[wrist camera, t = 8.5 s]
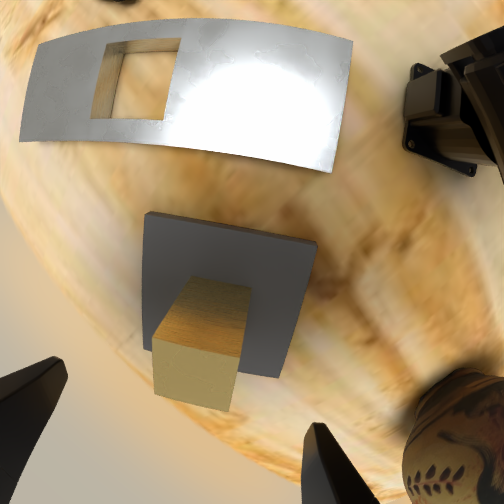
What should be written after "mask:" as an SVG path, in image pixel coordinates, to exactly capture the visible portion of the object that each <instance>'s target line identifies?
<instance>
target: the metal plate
mask: <svg viewBox="0 0 504 504" xmlns="http://www.w3.org/2000/svg"><path fill="white" fill-rule="evenodd" d="M352 47H353V41H351V40H347V39H344V38H340V37H336V36H333V35H329V34H325V33H320V32H316V31H311V30H307V29H302V28H297V27H291V26H285V25H279V24H272V23H264V22H256V21H246V20H233V19H210V18H187V19H164V20H151V21H142V22H133V23H126V24H119V25H113V26H107V27H102V28H97V29H92V30H88V31H83V32H79V33H75V34H71V35H68V36H64V37H61V38H57V39H54V40H51V41H48V42H44V43H41V44H39V45H38V49H37V52H36V55H35V59H34V62H33V66H32V70H31V74H30V78H29V82H28V87H27V92H26V97H25V102H24V108H23V114H22V121H21V128H20V137H19V142H32V141H108V142H128V143H143V144H155V145H166V146H176V147H185V148H194V149H202V150H210V151H217V152H224V153H231V154H237V155H243V156H249V157H255V158H261V159H266V160H272V161H277V162H282V163H287V164H292V165H297V166H301V167H306V168H311V169H315V170H319V171H324V172H328V173H332V168H333V163H334V158H335V153H336V148H337V143H338V137H339V132H340V126H341V121H342V115H343V109H344V103H345V97H346V90H347V84H348V77H349V70H350V62H351V55H352ZM153 51H178V53H177V57H176V62H175V66H174V70H173V74H172V79H171V84H170V88H169V93H168V98H167V103H166V109H165V114H164V120H145V119H110V117H111V112H112V106H113V101H114V95H115V91H116V86H117V81H118V77H119V73H120V68H121V64H122V60H123V57H124V54H125V53H136V52H153Z"/></svg>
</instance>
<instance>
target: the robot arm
mask: <svg viewBox="0 0 504 504" xmlns="http://www.w3.org/2000/svg"><path fill="white" fill-rule="evenodd" d="M440 57H441V58H442V60H443V61H444V63H445V64H447V65H448V66H449V68H448V69H446V70H442V69H437V70H433V69H431V68H429V67H427V66H425V65H423V64H420V63H416V64H414V65H413V66H412V69H411V81H410V82H409V83H408V84H407V94H406V102H405V110H404V117H405V119H406V123H405V130H404V136H403V148H404V149H405V150H406V151H408V152H411V153H413V154H416V155H419V156H421V157H424V158H426V159H429V160H431V161H434V162H436V163H439V164H441V165H443V166H446V167H448V168H450V169H452V170H455V171H457V172H459V173H461V174H463V175H466V176H468V177H474V176H475V174H476V169H477V164H481V165H488V166H495V167H498V169H499V172H500V175H501V178H502V181H503V184H504V26H502V27H500V28H497V29H495V30H493V31H490V32H488V33H486V34H483V35H481V36H479V37H477V38H475V39H472V40H470V41H468V42H466V43H464V44H462V45H460V46H458V47H456V48H453V49H451V50H449V51H447V52H445V53H443V54H441V55H440ZM417 68H419V69H420V70H421V73H420V72H418V70H417ZM409 141H411V142H412V147H411V148H410V147H409V145H408V142H409ZM469 168H470V169H471V171H470V172H469ZM67 379H68V374H67V371H66V367H65V364H64V361H63V360H62V359H60V358H58V357H56V356H52V357H49V358H47V359H45V360H42V361H40V362H38V363H35V364H33V365H31V366H28V367H26V368H23V369H21V370H18V371H16V372H14V373H11V374H9V375H6V376H4V377H1V378H0V504H9V502H10V500H11V497H12V495H13V493H14V490H15V488H16V486H17V482H18V481H19V478H20V476H21V474H22V472H23V470H24V468H25V465H26V463H27V461H28V459H29V457H30V455H31V453H32V451H33V449H34V447H35V445H36V443H37V441H38V439H39V437H40V435H41V433H42V431H43V429H44V427H45V426H46V424H47V422H48V420H49V419H50V417H51V415H52V413H53V411H54V409H55V407H56V405H57V402H58V400H59V398H60V395H61V393H62V391H63V389H64V386H65V384H66V382H67ZM301 491H302V504H380V503H379V501H378V500H377V498H376V497H374V494H373V493H372V491H371V490H370V489H369V487H368V486H367V484H366V483H365V482H364V480H363V479H362V477H361V476H360V474H359V473H358V471H357V470H356V469H355V467H354V466H353V464H352V463H351V461H350V460H349V458H348V457H347V455H346V454H345V453H344V451H343V450H342V448H341V447H340V445H339V444H338V442H337V441H336V439H335V438H334V436H333V435H332V433H331V432H330V430H329V429H328V427H327V426H326V424H324V423H317V422H313V423H312V424H311V426H310V427H309V429H308V431H307V433H306V435H305V437H304V446H303V459H302V471H301Z"/></svg>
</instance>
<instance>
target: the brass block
mask: <svg viewBox="0 0 504 504" xmlns="http://www.w3.org/2000/svg"><path fill="white" fill-rule="evenodd" d="M251 290H252V288H250V287H245V286H240V285H235V284H230V283H225V282H220V281H215V280H210V279H206V278H201V277H196V276H191V277H190V278H189V280H188V282H187V283H186V285H185V286H184V288H183V289H182V291H181V292H180V294H179V295H178V297H177V299H176V300H175V302H174V303H173V305H172V306H171V308H170V309H169V311H168V313H167V314H166V316H165V317H164V319H163V321H162V322H161V324H160V325H159V327H158V329H157V330H156V332H155V333H154V335H153V337H152V357H153V378H154V393H155V394H157V395H159V396H163V397H166V398H170V399H174V400H177V401H181V402H185V403H189V404H193V405H197V406H202V407H206V408H211V409H216V410H220V411H226V412H229V407H230V402H231V398H232V393H233V388H234V384H235V379H236V374H237V370H238V365H239V360H240V355H241V349H242V343H243V337H244V332H245V326H246V320H247V314H248V308H249V302H250V296H251Z"/></svg>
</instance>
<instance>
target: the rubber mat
mask: <svg viewBox="0 0 504 504" xmlns="http://www.w3.org/2000/svg"><path fill="white" fill-rule="evenodd" d="M317 247H318V246H317V244H316V242H315V241H310V240H305V239H300V238H295V237H289V236H284V235H279V234H274V233H269V232H264V231H258V230H253V229H248V228H242V227H237V226H232V225H226V224H221V223H215V222H210V221H204V220H198V219H193V218H187V217H181V216H175V215H170V214H164V213H158V212H152V211H151V212H149V213H147V214H145V218H144V234H143V256H142V326H143V348H144V349H145V350H148V351H152V337H153V335H154V333H155V332H156V330H157V329H158V327H159V325H160V324H161V322H162V321H163V319H164V317H165V316H166V314H167V313H168V311H169V309H170V308H171V306H172V305H173V303H174V302H175V300H176V299H177V297H178V295H179V294H180V292H181V291H182V289H183V288H184V286H185V285H186V283H187V282H188V280H189V278H190V277H191V276H196V277H201V278H206V279H210V280H215V281H220V282H225V283H230V284H235V285H240V286H245V287H250V288H252V290H251V296H250V302H249V308H248V314H247V320H246V326H245V332H244V337H243V343H242V349H241V355H240V360H239V365H238V370H237V372H242V373H248V374H254V375H260V376H266V377H273V378H279V376H280V373H281V370H282V367H283V364H284V361H285V358H286V355H287V352H288V348H289V345H290V342H291V339H292V336H293V332H294V329H295V326H296V323H297V319H298V316H299V313H300V309H301V306H302V302H303V299H304V295H305V292H306V288H307V285H308V281H309V277H310V274H311V270H312V266H313V262H314V259H315V255H316V251H317Z"/></svg>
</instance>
